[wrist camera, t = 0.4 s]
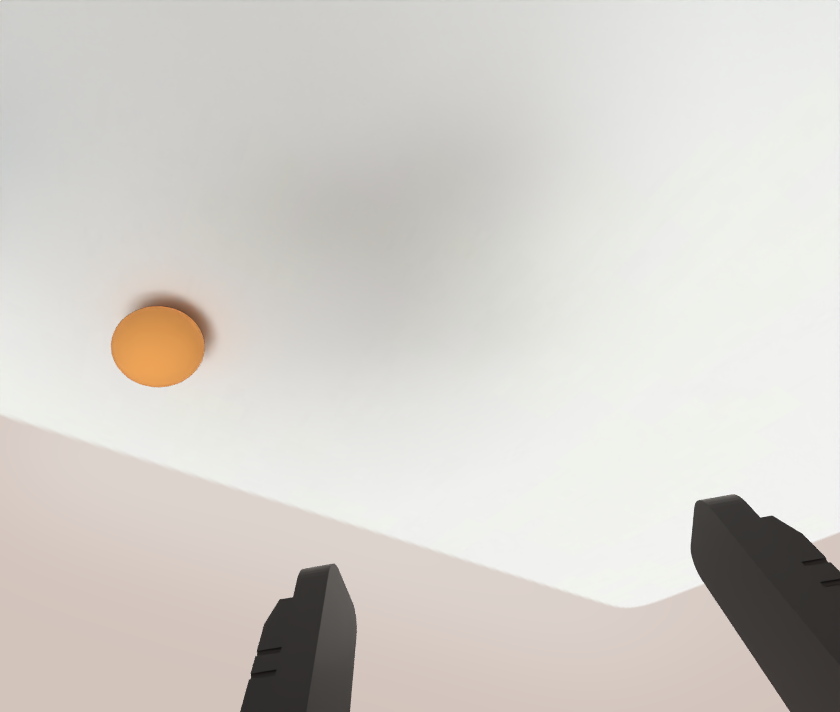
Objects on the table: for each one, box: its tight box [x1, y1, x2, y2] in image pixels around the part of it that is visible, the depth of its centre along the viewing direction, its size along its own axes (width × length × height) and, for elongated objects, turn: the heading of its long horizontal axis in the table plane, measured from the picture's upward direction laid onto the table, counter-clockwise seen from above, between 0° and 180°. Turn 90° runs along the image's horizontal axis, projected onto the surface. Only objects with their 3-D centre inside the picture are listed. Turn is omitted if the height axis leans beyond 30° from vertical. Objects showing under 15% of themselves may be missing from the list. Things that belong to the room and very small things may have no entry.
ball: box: [111, 306, 204, 387], centre depth 28 cm, size 5×5×5 cm
